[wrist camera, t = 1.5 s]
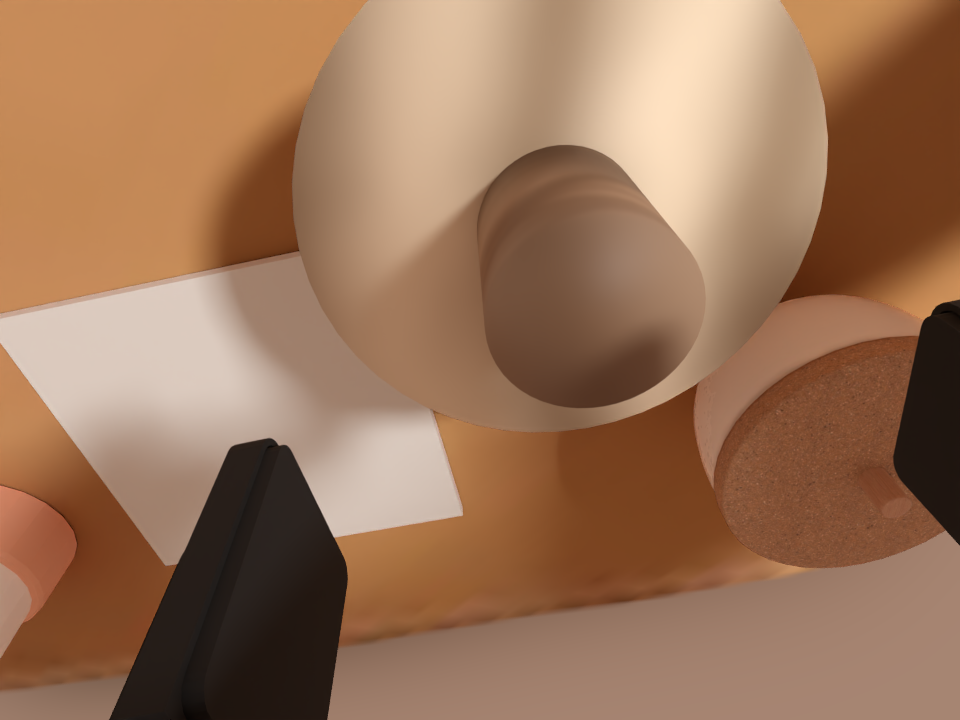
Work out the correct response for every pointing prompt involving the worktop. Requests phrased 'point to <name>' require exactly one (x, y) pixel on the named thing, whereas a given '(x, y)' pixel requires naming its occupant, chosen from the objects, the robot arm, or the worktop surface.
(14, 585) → the pepper shaker
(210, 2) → the worktop surface
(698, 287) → the lid
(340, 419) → the mat
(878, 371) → the lidded jar
